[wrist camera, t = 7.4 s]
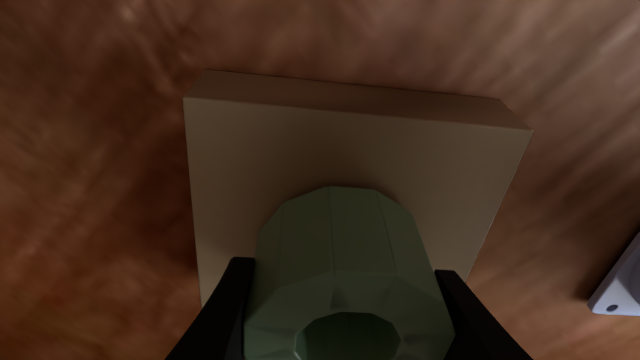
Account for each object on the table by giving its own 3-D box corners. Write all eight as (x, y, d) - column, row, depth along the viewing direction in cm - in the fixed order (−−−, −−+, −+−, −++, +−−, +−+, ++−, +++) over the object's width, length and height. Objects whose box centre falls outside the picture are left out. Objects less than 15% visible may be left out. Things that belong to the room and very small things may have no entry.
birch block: (499, 98, 13) (535, 130, 11) (424, 294, 19) (439, 340, 16) (203, 68, 12) (181, 96, 10) (215, 282, 18) (202, 329, 16)
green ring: (400, 309, 15) (422, 404, 12) (256, 302, 14) (242, 397, 11) (440, 193, 12) (483, 281, 9) (259, 179, 11) (242, 266, 8)
